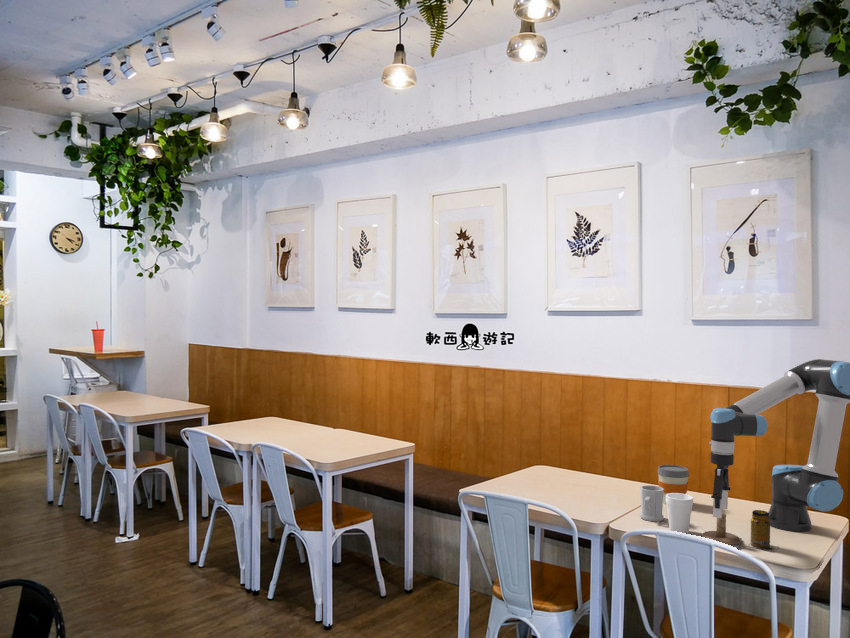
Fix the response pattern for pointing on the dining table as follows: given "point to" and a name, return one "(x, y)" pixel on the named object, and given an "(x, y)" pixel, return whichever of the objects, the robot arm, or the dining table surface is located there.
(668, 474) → the reusable coffee cup
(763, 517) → the condiment
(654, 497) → the cup
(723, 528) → the lid
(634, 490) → the dining table surface
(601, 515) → the dining table surface
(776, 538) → the dining table surface
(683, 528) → the foam cup
